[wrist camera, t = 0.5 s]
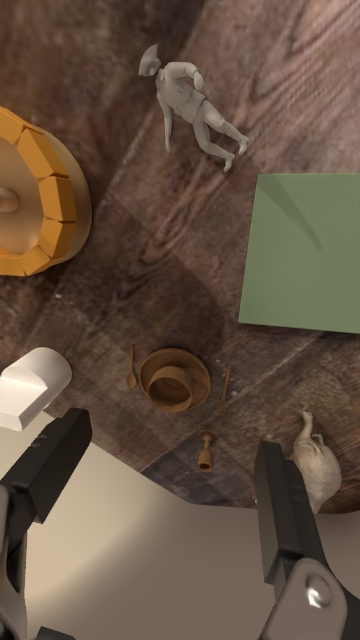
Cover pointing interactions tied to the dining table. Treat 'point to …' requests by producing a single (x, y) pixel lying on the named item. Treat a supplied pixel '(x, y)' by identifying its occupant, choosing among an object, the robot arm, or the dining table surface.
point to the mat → (304, 253)
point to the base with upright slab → (31, 386)
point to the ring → (53, 198)
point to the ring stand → (37, 200)
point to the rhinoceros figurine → (315, 464)
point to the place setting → (177, 387)
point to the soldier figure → (189, 104)
